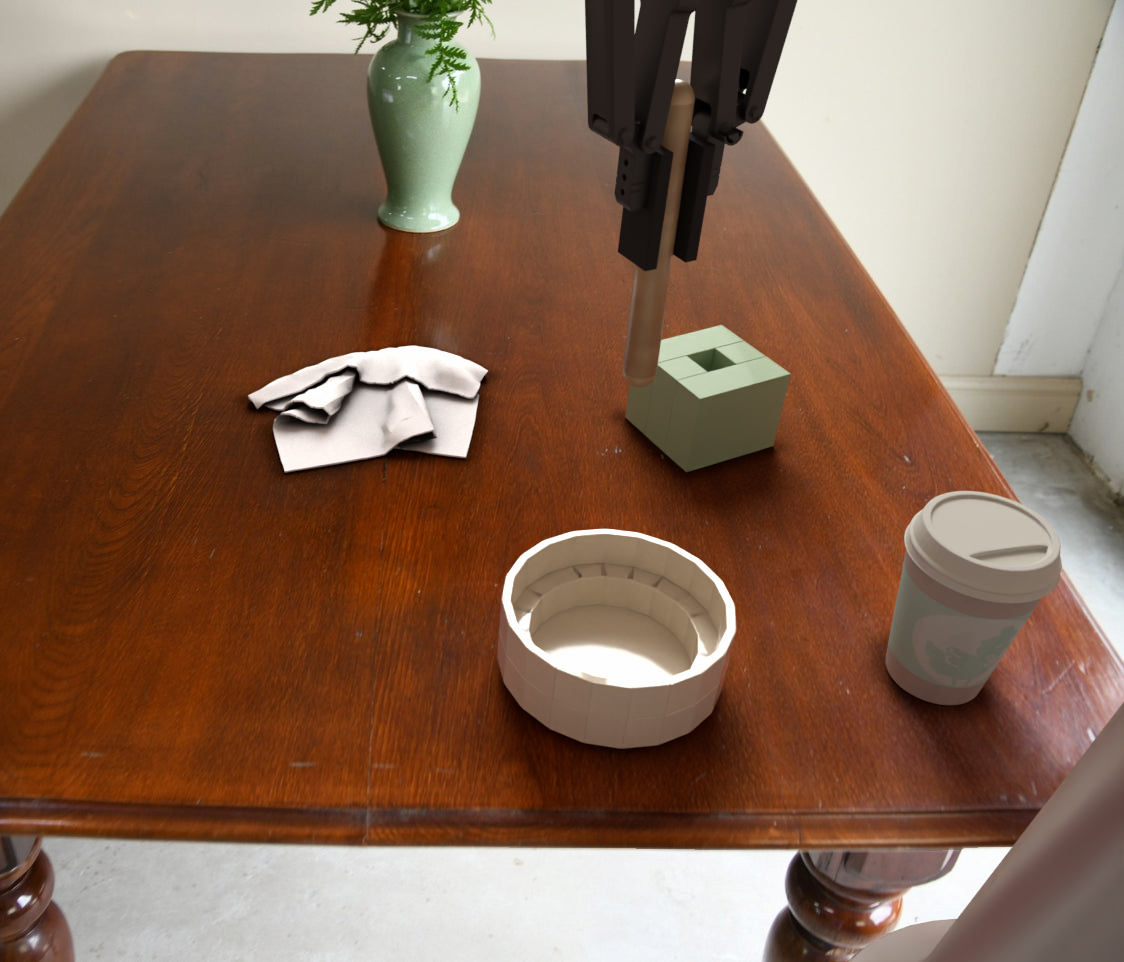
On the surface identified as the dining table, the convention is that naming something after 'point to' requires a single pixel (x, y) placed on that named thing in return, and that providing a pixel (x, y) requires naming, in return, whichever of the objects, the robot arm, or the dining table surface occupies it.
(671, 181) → the stick
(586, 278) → the dining table surface
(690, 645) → the bowl
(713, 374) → the stand
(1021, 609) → the coffee cup
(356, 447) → the cloth
